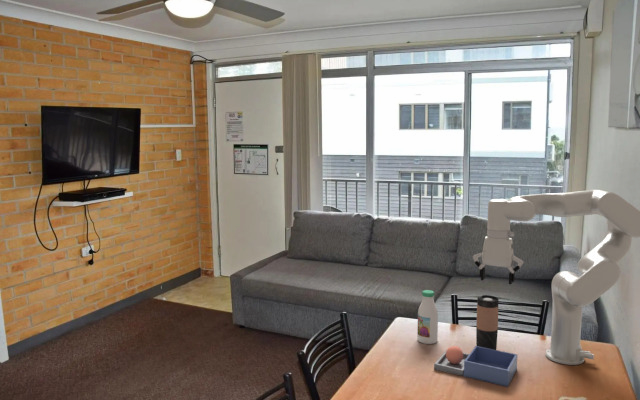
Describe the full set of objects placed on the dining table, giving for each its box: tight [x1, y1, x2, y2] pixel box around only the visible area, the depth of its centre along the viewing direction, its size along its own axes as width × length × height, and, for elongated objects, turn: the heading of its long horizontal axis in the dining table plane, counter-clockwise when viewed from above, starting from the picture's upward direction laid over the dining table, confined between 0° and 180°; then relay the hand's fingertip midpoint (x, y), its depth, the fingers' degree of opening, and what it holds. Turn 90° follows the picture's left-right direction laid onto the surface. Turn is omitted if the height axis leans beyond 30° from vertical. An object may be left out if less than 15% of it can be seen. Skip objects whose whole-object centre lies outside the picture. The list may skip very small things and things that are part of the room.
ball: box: [445, 345, 464, 364], centre depth 181 cm, size 6×6×6 cm
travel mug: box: [475, 294, 500, 350], centre depth 192 cm, size 8×8×20 cm
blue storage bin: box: [463, 345, 518, 388], centre depth 175 cm, size 14×14×6 cm
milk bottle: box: [416, 289, 439, 345], centre depth 201 cm, size 8×8×20 cm
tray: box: [433, 349, 470, 377], centre depth 181 cm, size 10×14×2 cm
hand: (496, 281), depth 184 cm, fingers open, 9 cm apart
